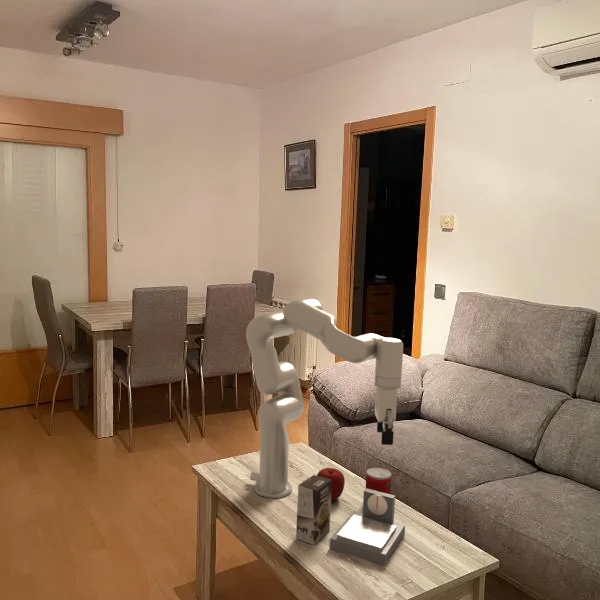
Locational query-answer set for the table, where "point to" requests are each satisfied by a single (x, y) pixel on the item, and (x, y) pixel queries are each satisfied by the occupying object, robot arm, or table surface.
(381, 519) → the base
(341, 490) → the apple
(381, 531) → the scale pan
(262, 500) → the table surface
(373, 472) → the canned food
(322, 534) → the coffee box
